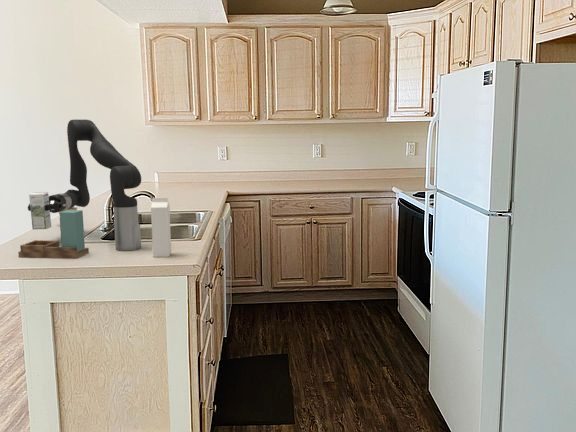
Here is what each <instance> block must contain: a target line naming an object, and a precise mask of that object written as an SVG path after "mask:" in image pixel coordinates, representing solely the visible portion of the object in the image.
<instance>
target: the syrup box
mask: <svg viewBox="0 0 576 432" xmlns="http://www.w3.org/2000/svg"><path fill="white" fill-rule="evenodd" d="M28 194H29V195H28V197H29V204H30V209H31V211H30V217H31V227H32V230H48V229H50V228H52V219H51V212H50V210H48V211H45V210H44V206H45V205H48V204H49V196H50V195H49V192H48V191H46V192H45V191H44V192H43V191H41V192H31V193H28Z"/></svg>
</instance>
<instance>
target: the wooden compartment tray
mask: <svg viewBox="0 0 576 432" xmlns="http://www.w3.org/2000/svg"><path fill="white" fill-rule="evenodd" d="M89 250H90V249H89V247H85V249H83V250H81V251H79V252H77V248H75V247H62V246H61V247H60V240H44V239H43V240H42V239H41V240H37V239H35V240H32V241H29V242H27V243H25V244H24V243H23V244H21V245H20V251H18V258H33V259H34V258H37V259H38V258H39V259H71V260H72V259H78V258H81V257H83V256H86V255H87V254H89V253H90V251H89Z"/></svg>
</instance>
